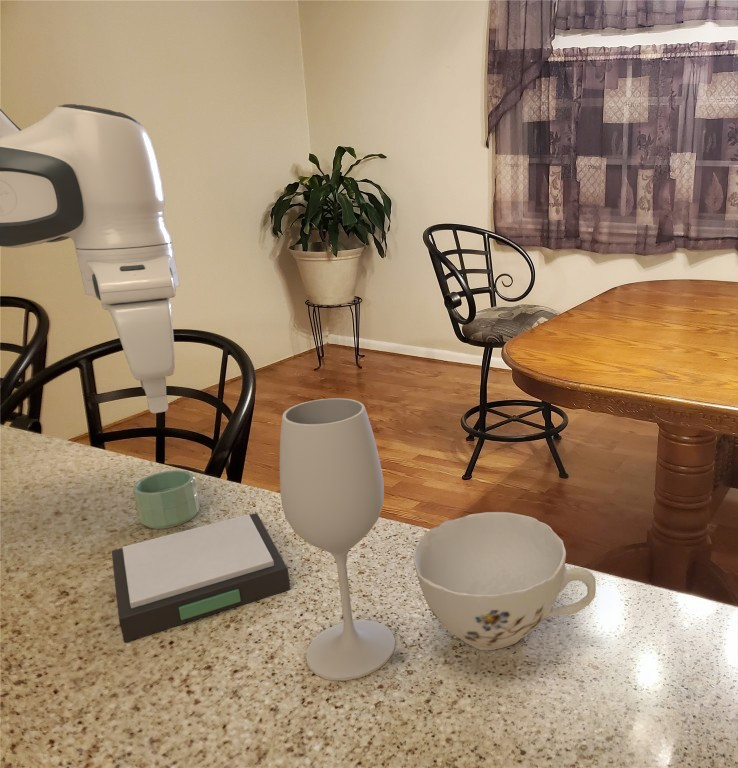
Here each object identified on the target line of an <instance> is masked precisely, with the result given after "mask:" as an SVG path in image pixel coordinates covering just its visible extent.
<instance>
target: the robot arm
mask: <svg viewBox="0 0 738 768" xmlns="http://www.w3.org/2000/svg"><path fill="white" fill-rule="evenodd" d="M156 154H157V153H156V152H155V148H154V145H153V142H152V139H151V137H150V135H149V132H148V131H147V129H146V128H145V127H144V126H143V125H142V124H141V123H140V122H139V121H137V120H136V119H135V118H134V117H132V116H130V115H128V114H126V113H124V112H122V111H121V112H120V111H114V110H112V109H107V108H103V107H98V106H97V107H96V106H92V105H84V104H76V103H66V104H63V105H62V104H61V105H57V106H55V107H54V109H53V110H52V111H51V112H49V114H47V115H46V116H45V117H43V118H42V119H40V120H38V121H36V122H34V123H33V124H31V125H29V126H27V127H25V128H23V129H21V128H20V127H19V126H18V125H17V124H16V123H15V122H14V121H12V120H11V118H10V117H9V116H8V115H7V114H6V113H5V112H4V110H2V108H0V247H2V248H9V249H10V248H13V249H17V248H19V249H20V248H26V247H32V246H36V245H42V244H45V243H58V242H62V241H65V240H68V239H71V241H73V244H74V249H75V253H76V257H77V263H78V267H79V272H80V276H81V281H82V287H83V292H84V294H86V295H87V296H92V297H93V298H96V299H97V300H99V301H100V304H101V308H102V309H103V310H104V311H105V310H106V311H108V313H109V314H110V316H111V318H112V321H113V323H114V325H115V329H116V332H117V335H118V338H119V341H120V345H121V346H122V349H123V352H124V356H125V358H126V361H127V364H128V367H129V369H130V372H131V374H132V376H133V378H134V380H136V381H139V382H140V386H141V388H142V389H143V390H144V393H145V397H146V401H147V406H148V410H149V412H150V413H152V414H159V413H164V412H167V411H168V410H169V402H168V397H167V379H166V378H168V377H171V376H173V375H174V373H175V368H176V354H175V336H174V326H173V325H174V324H173V311H172V305H171V299H173V298H175V297H176V289H177V287H179V286H180V279H179V273H178V266H177V261H176V256H175V250H174V243H173V239H172V236H171V233H170V232H169V229H168V227H167V224H166V222H165V221H166V220H165V215H164V211H165V204H166V198H165V192H164V185H163V180H162V175H161V171H160V166H159V163H158V159H157V155H156Z"/></svg>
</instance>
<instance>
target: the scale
mask: <svg viewBox="0 0 738 768" xmlns="http://www.w3.org/2000/svg"><path fill="white" fill-rule="evenodd" d="M111 557H112V558H111V559H112V567H113V568H112V569H113V577H114V586H115V597H116V605H117V614H118V616H117V617H118V622H119V626H120V630H121V634H122V639H123V642H124V643H128V642H131V641H134V640H138V639H140V638H144V637H146V636H150V635H153V634H156V633H160V632H162V631H165V630H169V629H171V628H174V627H179V626H180V625H184V624H187V623H190V622H194V621H196V620H199V619H202V618H206V617H209V616H212V615H216V614H218V613H221V612H225V611H228V610H231V609H234V608H237V607H240V606H243V605H247V604H250V603H253V602H256V601H259V600H261V599H265V598H268V597H271V596H274V595H277V594H280V593H285V592H287V591H289V590H290V591H291V583H290V582H291V581H290V575H289V569H288V568H289V567H288V566H287V564H286V562H285V560H284V559H283V557H282V555H281V552H279V550H278V548H277V546H276V544H275V542H274V540H273V539H272V537H271V535H270V533H269V531H268V530H267V529H266V526H265V524H264V522H263V521H262V519H261V517H260V515H259V513H258V512H255V513H251V514H250V513H247V514H243V515H240V516H236V517H232V518H228V519H224V520H220V521H216V522H213V523H209V524H205V525H201V526H198V527H193V528H189V529H186V530H182V531H178V532H175V533H174V532H173V533H171V534H167V535H163V536H159V537H155V538H151V539H147V540H144V541H143V540H142V541H140V542H136V543H132V544H128V545H124V546H122V547H120V548H117V549H113V550H111Z"/></svg>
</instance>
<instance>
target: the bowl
mask: <svg viewBox="0 0 738 768" xmlns="http://www.w3.org/2000/svg"><path fill="white" fill-rule="evenodd" d="M196 483H197V482H196V479H195V475H194V473H193V472H190V471H188V470H183V469H180V470H179V469H175V470H165V471H160V472H155V473H152V474H150V475H147V476H145V477H142V478H141V479H139V480H137V481H136V482H135V483H134V484H133V486H132V493H133V495H134V496H133V497H134V502H135V506H136V511H137V516H138V520H139V523H140V524H141V525H143V526H145V527H147V528H150V529H154V530H155V529H156V530H161V529H170V528H175V527H177V526H181V525H182V524H185V523H187V522H189V521H191V520H192V519H193V518H194V517H195V516H196V515H197V513H198V512H199V510H200V508H201V506H200V502H199V496H198V489H197V484H196Z"/></svg>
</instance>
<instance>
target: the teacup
mask: <svg viewBox="0 0 738 768" xmlns="http://www.w3.org/2000/svg"><path fill="white" fill-rule="evenodd" d="M566 559H567V551H566V548H565V545H564V540H563V539H562V538H561V537H559V535H558V534H557V533H556V532H555V531H554V530H553V529H552V526H550V525H548V524H547V523H545V522H542V521H539V520H538V519H537V518H535V517H532V516H527V515H524V514H518V513H514V512H507V511H506V512H505V511H486V512H479V513H472V514H468V515H465V516H463V517H462V516H461V517H458V518H455V519H449V520H445V521H443V522H441V523H440V524H439V525H438V526H435V527H432V528H431V529H429V530H428V531H426V532H425V533H424V534H423V536H421V537H420V538H419V540H418V543H417V545H416V547H415V549H414V553H413V565H414V569H415V572H416V576H417V580H418V583H419V586H420V590H421V593H422V595H423V597H424V600H425V602H426V604H427V605H428V607H429V609H430V611H431V613H432V614H433V615H434V617H435V618H436V619H437V621H438V622H439V623H440V624H441V625H442V626H443V627H444V628H445V629H446V630H447V631H449V633H451V634H452V635H453V636H455V637H456V638H458V639H460V640H462V642H463V643H465V644H467V645H470V646H471V647H473V648H474V649H476V650H480V651H495V650H499V649H503V648H507V647H510V646H513V645H515V644H517V643H518V642H519V641H521V639H523V638H525V637H526V636H528V635H530V634H531V633H532V632H534V630H535V629H536V628H537V627H539V626H540V624H542V623H543V621H544V620H545V619H546V618H550V617H560V616H567V615H568V616H570V615H573V614H577V613H579V612H581V611H582V610H583V609H586V607H588V606H589V605H590V604H591V603H592V601H593V600H594V599H595V598H596V590H597V589H596V588H597V587H596V586H597V585H596V577H595V576H594V574H593V573H592V571H590V570H589V569H587V568H584V567H570V568H566ZM573 581H579V582H582V583H583V584H584V585H585V587H586V591H587V593H586V595H585V596H583V597H582V598H580V600H578V601H575V602H572V603H570V604H565V605H562V606H559V607H558V606H557V607H553V606H554V604H555V603H556V600H557V598H558V596H559V594H561V592H563V591H564V590H565V589H566V587H567V586H568V585H569V584H570V583H571V582H573Z"/></svg>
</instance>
